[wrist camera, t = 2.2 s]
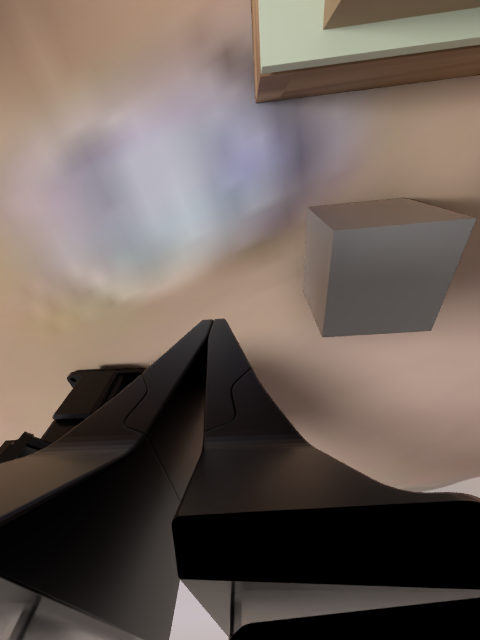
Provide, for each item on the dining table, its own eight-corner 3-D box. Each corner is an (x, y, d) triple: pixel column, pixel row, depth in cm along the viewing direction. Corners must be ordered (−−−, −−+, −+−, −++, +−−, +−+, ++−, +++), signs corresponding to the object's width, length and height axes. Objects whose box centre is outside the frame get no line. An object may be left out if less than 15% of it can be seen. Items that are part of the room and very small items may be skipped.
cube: (382, 284, 16) (431, 330, 12) (302, 290, 16) (322, 337, 12) (403, 197, 13) (476, 218, 9) (306, 206, 13) (334, 230, 9)
